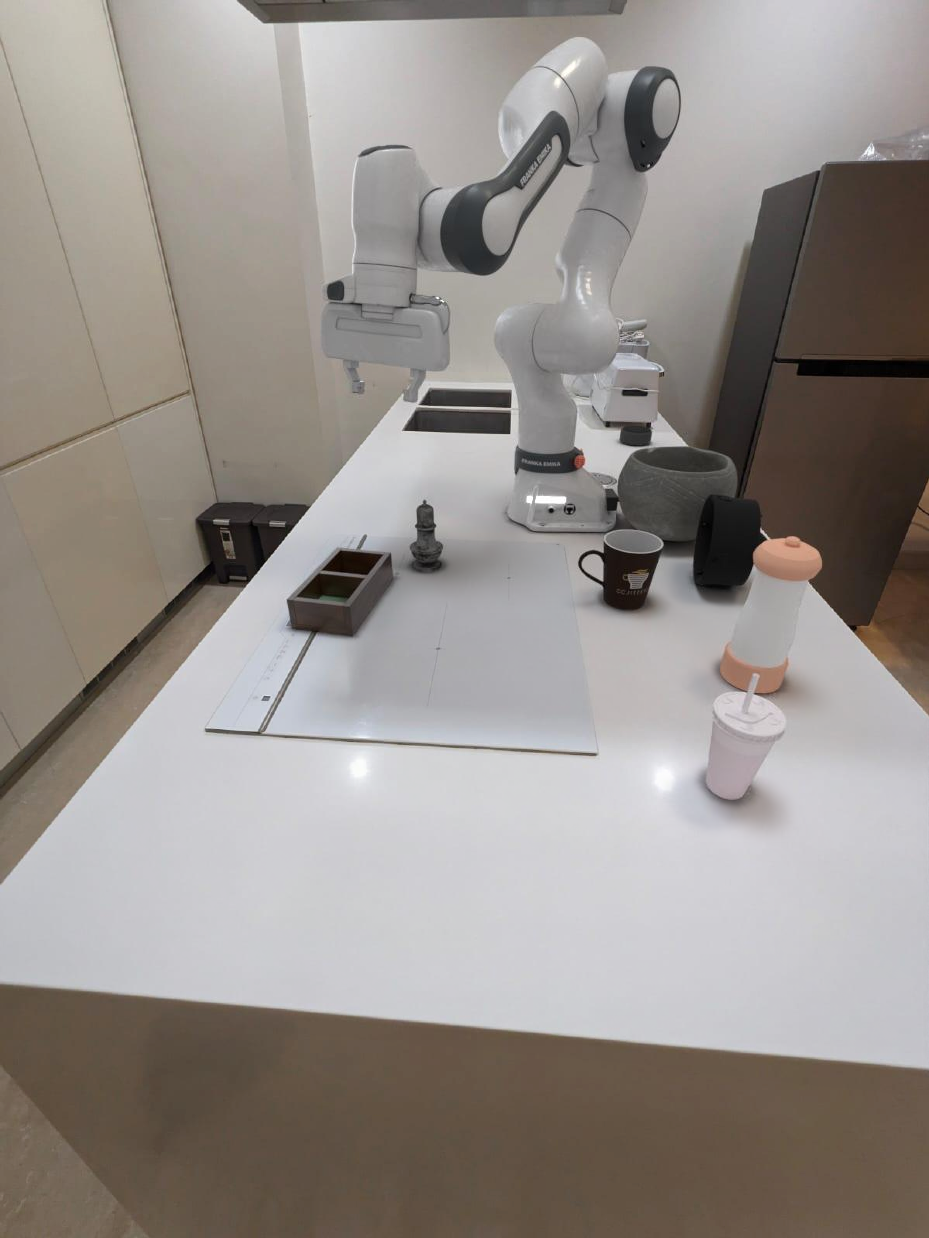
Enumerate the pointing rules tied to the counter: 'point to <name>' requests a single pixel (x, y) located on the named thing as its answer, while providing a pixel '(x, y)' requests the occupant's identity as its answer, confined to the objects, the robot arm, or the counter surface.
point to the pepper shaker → (770, 614)
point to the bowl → (672, 488)
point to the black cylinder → (726, 541)
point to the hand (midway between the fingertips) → (383, 397)
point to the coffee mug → (627, 567)
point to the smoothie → (741, 739)
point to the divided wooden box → (341, 591)
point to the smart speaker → (635, 435)
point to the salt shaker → (426, 541)
